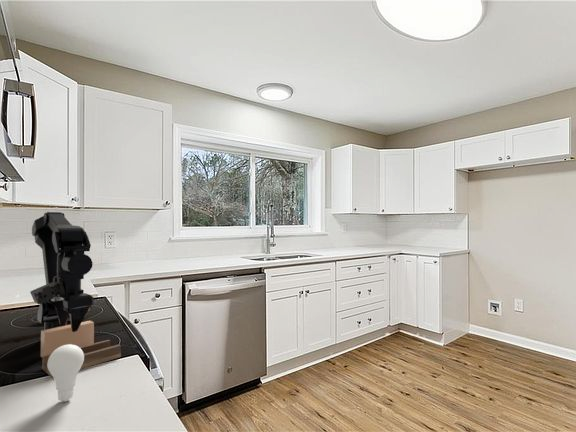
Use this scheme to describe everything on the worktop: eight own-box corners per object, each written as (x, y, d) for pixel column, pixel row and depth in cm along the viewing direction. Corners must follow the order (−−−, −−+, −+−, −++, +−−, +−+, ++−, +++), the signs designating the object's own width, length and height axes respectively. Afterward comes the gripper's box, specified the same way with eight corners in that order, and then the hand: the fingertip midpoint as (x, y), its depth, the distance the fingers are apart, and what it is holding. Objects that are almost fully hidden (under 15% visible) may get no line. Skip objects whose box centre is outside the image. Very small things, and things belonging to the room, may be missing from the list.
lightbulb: (89, 393, 70) (90, 339, 70) (71, 409, 64) (72, 350, 64) (59, 393, 70) (60, 340, 70) (39, 409, 64) (39, 351, 64)
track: (41, 368, 82) (42, 356, 82) (108, 350, 94) (108, 339, 94) (52, 377, 77) (52, 364, 77) (120, 356, 89) (121, 345, 89)
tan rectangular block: (40, 357, 90) (41, 330, 90) (89, 344, 99) (89, 320, 99) (44, 359, 88) (44, 332, 88) (93, 346, 97) (94, 322, 97)
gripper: (24, 272, 94) (23, 328, 93) (45, 279, 82) (44, 343, 81) (69, 268, 102) (68, 319, 102) (94, 273, 90) (94, 332, 90)
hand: (68, 328), depth 94 cm, fingers open, 9 cm apart
